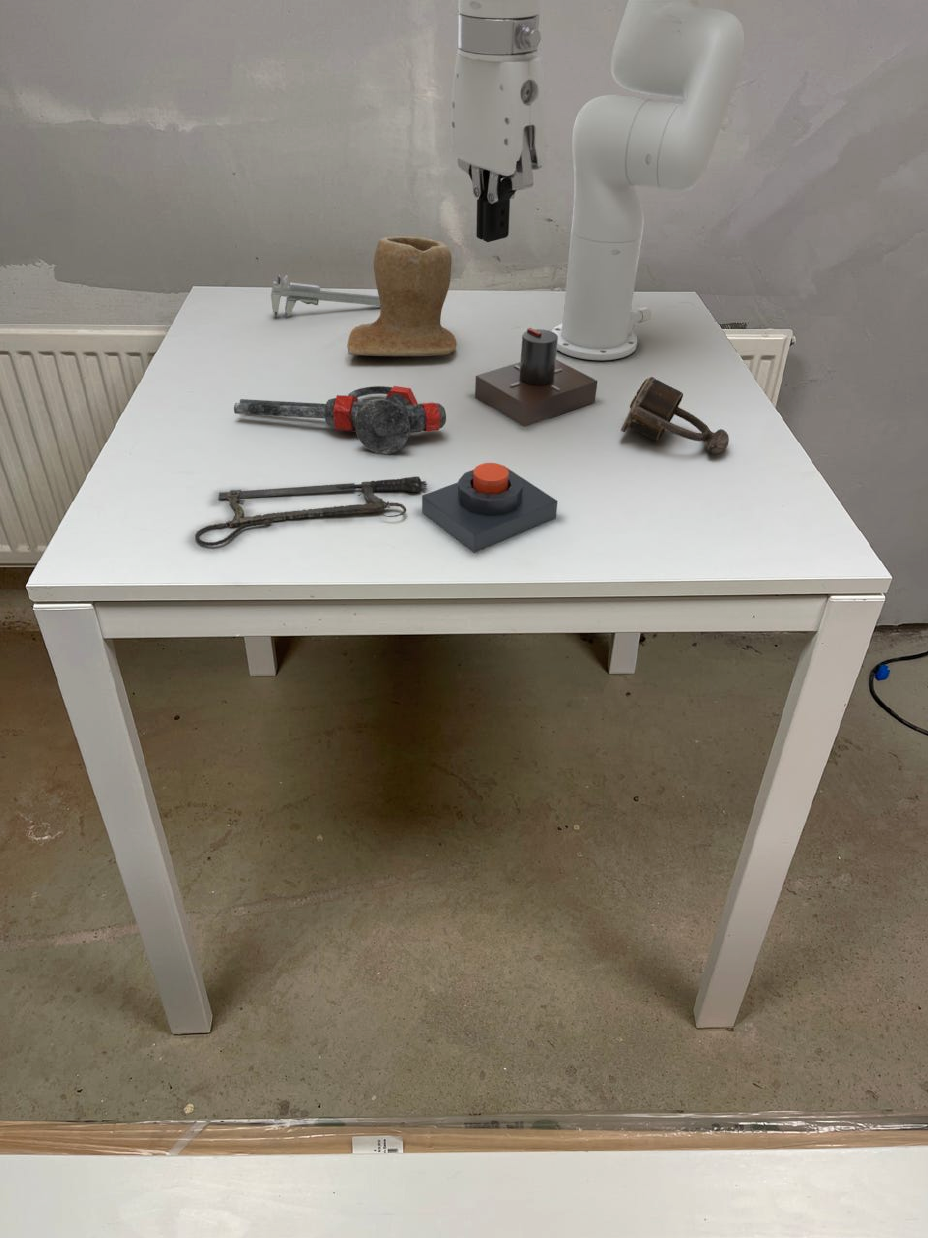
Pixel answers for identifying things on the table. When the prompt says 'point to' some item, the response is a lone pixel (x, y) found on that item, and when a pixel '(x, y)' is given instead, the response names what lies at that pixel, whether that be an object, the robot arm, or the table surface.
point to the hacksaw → (368, 487)
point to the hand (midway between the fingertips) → (492, 237)
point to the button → (490, 478)
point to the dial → (538, 356)
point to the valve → (362, 415)
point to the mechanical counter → (667, 416)
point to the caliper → (314, 295)
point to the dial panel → (535, 393)
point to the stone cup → (408, 300)
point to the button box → (488, 511)
